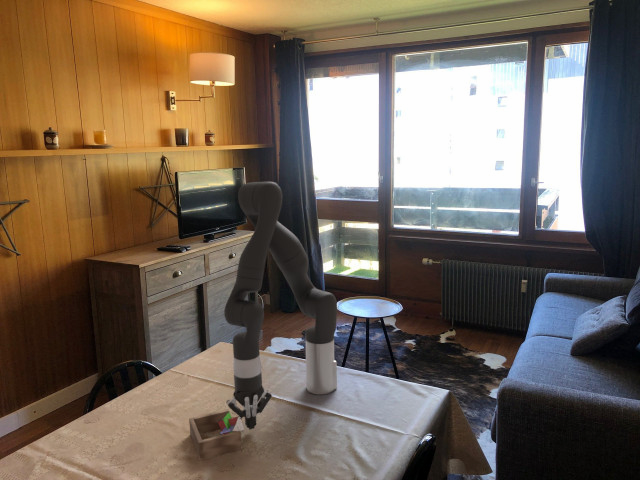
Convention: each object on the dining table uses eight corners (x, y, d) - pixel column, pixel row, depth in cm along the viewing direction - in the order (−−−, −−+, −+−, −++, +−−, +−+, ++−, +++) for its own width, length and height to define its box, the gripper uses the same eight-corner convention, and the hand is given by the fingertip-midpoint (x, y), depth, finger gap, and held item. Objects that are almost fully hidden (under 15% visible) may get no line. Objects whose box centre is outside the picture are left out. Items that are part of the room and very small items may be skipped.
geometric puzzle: (207, 433, 141) (222, 414, 138) (218, 420, 147) (233, 401, 145) (228, 450, 140) (243, 431, 138) (238, 436, 147) (253, 417, 144)
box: (228, 425, 149) (228, 409, 148) (241, 449, 137) (240, 432, 136) (190, 434, 144) (189, 418, 143) (200, 460, 133) (198, 443, 132)
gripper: (266, 360, 147) (268, 415, 151) (220, 370, 142) (224, 426, 145) (275, 370, 140) (277, 428, 144) (227, 381, 135) (231, 441, 139)
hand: (250, 427), depth 145 cm, fingers closed
